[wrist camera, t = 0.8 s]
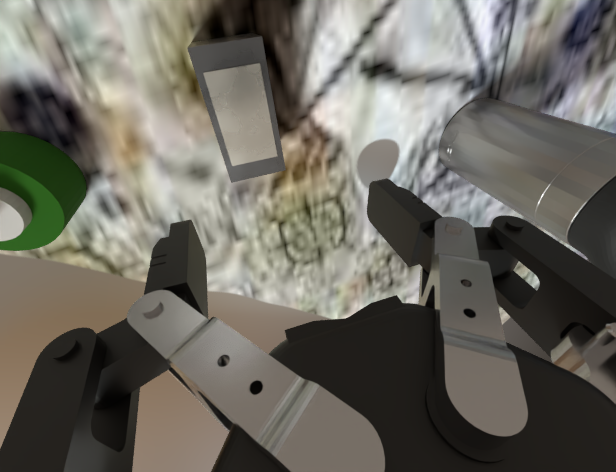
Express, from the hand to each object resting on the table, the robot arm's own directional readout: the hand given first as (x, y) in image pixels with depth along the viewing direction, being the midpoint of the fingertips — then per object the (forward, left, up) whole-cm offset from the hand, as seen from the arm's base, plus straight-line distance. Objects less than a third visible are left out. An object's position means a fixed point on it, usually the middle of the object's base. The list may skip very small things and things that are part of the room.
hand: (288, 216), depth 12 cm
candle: (+20, +2, -19) cm, 28 cm away
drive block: (0, -1, -19) cm, 19 cm away
